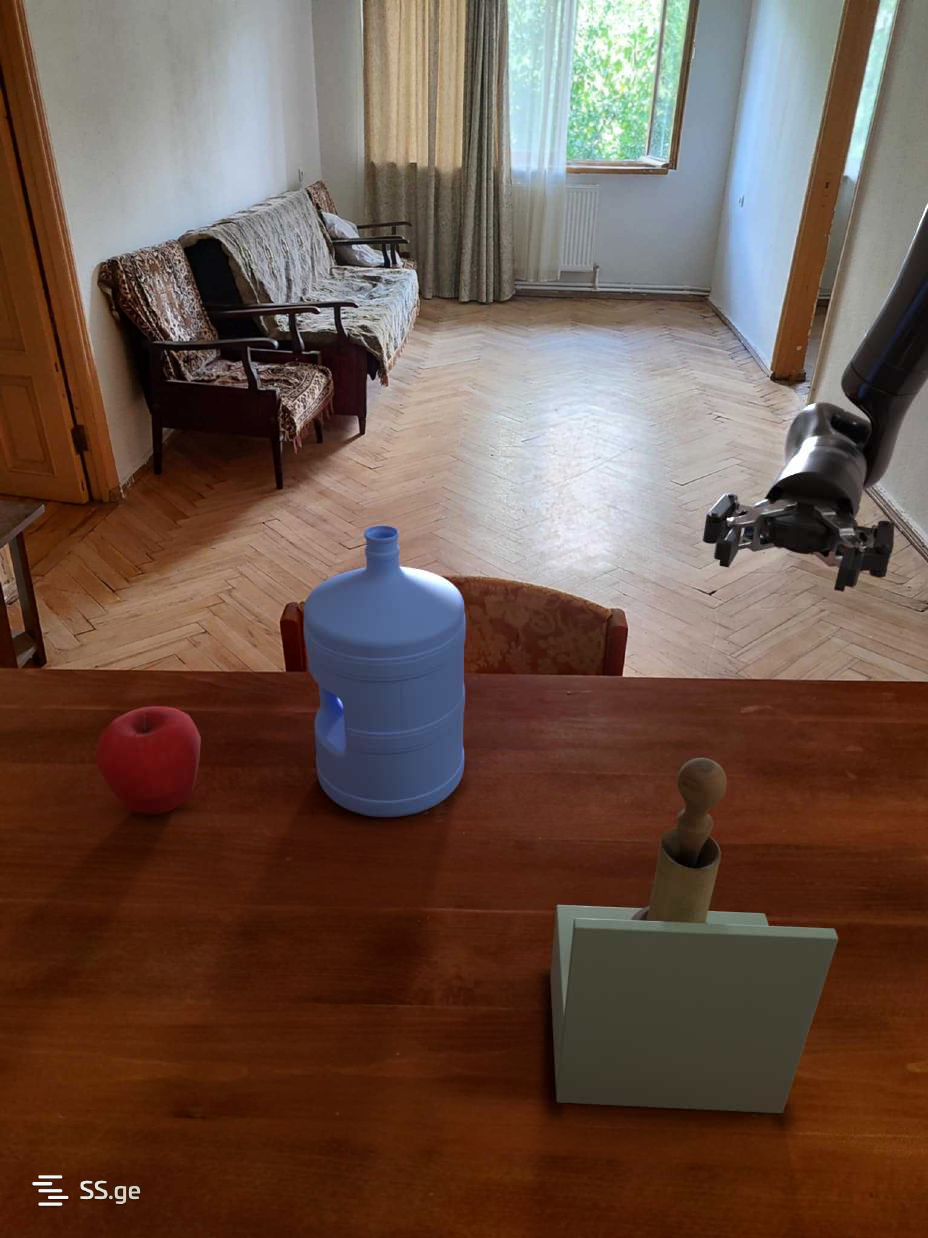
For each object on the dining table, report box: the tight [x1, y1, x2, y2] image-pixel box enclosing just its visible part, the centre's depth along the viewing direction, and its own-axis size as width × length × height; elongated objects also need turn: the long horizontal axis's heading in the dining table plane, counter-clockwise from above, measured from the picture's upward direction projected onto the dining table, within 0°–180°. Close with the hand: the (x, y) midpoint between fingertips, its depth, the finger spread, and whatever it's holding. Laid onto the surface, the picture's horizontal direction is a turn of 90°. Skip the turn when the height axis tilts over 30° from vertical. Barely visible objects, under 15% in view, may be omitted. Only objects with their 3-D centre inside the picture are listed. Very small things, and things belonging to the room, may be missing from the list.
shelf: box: [549, 904, 839, 1114], centre depth 63 cm, size 16×11×18 cm
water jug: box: [303, 525, 467, 818], centre depth 88 cm, size 16×16×28 cm
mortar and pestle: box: [631, 757, 728, 924], centre depth 59 cm, size 7×6×18 cm
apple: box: [94, 705, 202, 815], centre depth 87 cm, size 10×10×11 cm
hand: (782, 567), depth 67 cm, fingers open, 8 cm apart
